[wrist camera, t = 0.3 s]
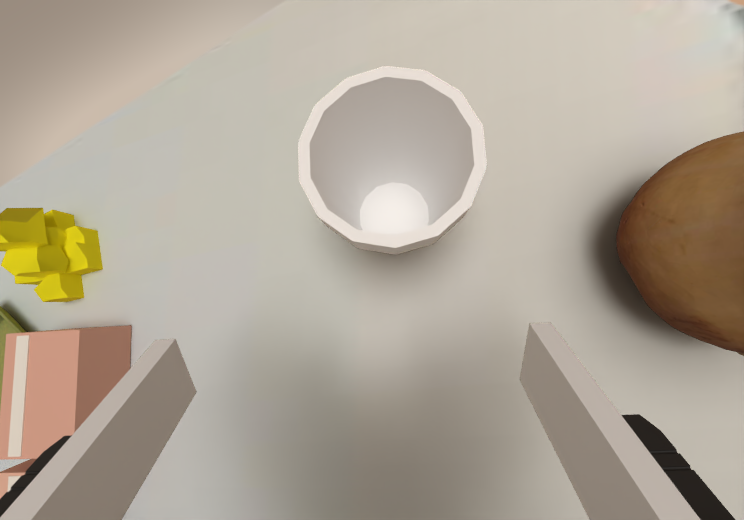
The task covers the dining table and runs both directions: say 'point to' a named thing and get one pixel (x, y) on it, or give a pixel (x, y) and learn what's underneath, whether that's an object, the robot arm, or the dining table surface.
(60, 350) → the pink striped box
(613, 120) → the dining table surface
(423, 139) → the foam cup
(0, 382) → the green square tray
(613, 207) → the dining table surface
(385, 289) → the dining table surface
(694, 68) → the dining table surface
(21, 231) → the yellow faceted figurine
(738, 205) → the butternut squash
